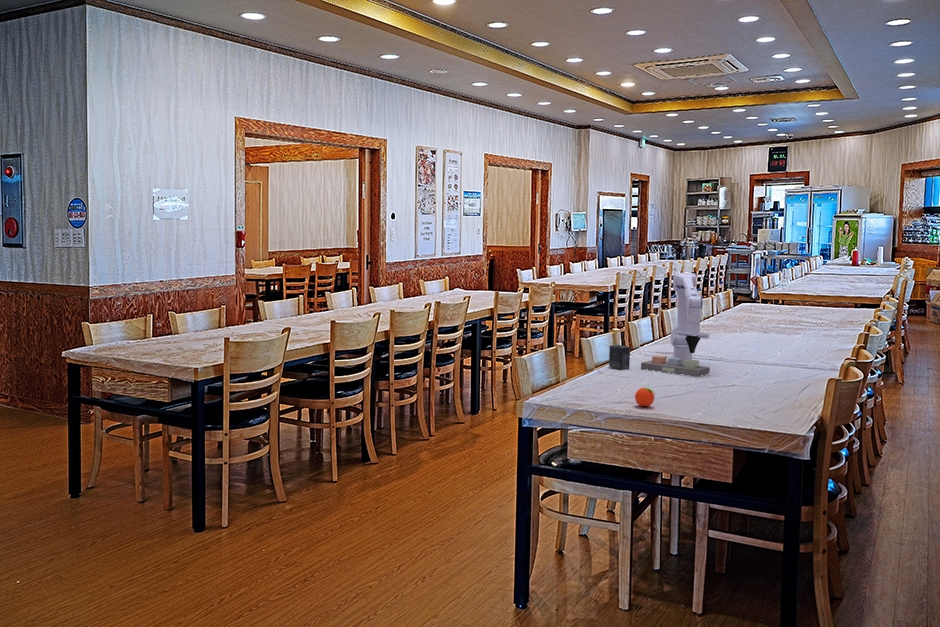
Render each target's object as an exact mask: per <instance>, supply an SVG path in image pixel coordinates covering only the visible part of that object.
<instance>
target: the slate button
mask: <svg viewBox="0 0 940 627" xmlns="http://www.w3.org/2000/svg"><path fill="white" fill-rule="evenodd" d="M667 362H668V365H671V366H682V362H683V358H675V357H673V356H672V357H669V358H668V357H667Z"/></svg>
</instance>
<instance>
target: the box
mask: <svg viewBox="0 0 940 627" xmlns="http://www.w3.org/2000/svg"><path fill="white" fill-rule="evenodd" d="M608 354H609V355H608V367H609V366H610V367H612V368H611V369H614V368H616V369H615V370H620V369H621V371H623V370H622V369H626V370H630V362H631V360H630V357H631V346H629V345H628V346H627V345H620V344H611V345H609V353H608Z"/></svg>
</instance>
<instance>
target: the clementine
mask: <svg viewBox="0 0 940 627" xmlns="http://www.w3.org/2000/svg"><path fill="white" fill-rule="evenodd" d="M655 397H656V393H655V391H654V390H653V389H651V388H649V387H645V386H644V387H639V389H638V390H637V391H636V392H635V393H634V399H635V402H636V403H637V405H638V406H640V407H642V406H647V407H649V406H651V405H652V404H653V403H654V401H655Z"/></svg>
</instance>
